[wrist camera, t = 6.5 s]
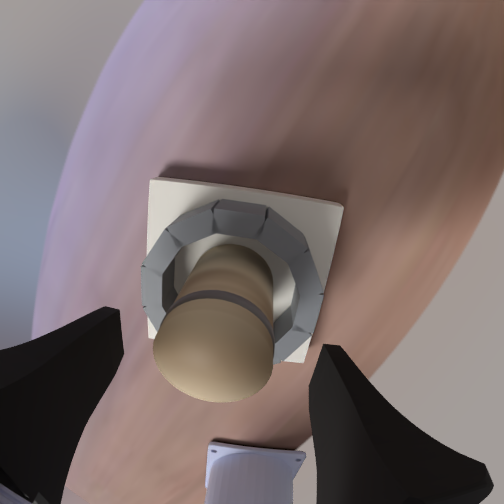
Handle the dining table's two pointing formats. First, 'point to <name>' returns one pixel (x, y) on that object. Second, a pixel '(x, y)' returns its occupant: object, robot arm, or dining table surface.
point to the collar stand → (245, 234)
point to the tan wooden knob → (220, 327)
